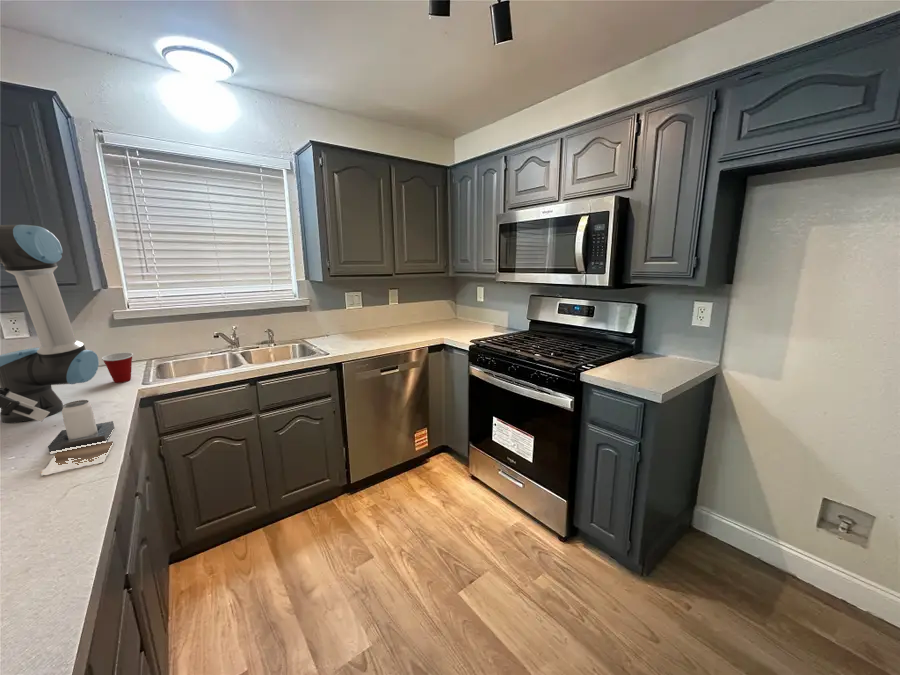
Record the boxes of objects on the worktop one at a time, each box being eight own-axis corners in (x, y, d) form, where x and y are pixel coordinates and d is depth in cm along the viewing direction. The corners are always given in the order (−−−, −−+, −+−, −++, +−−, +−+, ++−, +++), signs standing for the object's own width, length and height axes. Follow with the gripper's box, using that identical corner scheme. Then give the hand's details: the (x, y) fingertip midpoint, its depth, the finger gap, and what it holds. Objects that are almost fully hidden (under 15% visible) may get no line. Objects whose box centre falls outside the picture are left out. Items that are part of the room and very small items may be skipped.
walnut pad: (57, 455, 106) (56, 452, 105) (113, 444, 112) (112, 441, 112) (41, 476, 96) (40, 472, 96) (103, 462, 102) (103, 459, 102)
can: (95, 433, 119) (87, 397, 116) (101, 439, 115) (93, 402, 113) (67, 441, 114) (58, 404, 111) (72, 447, 110) (62, 409, 107)
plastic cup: (107, 386, 162) (101, 359, 159) (105, 381, 170) (100, 355, 167) (139, 380, 170) (134, 355, 167) (136, 375, 177) (131, 350, 174)
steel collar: (63, 437, 116) (61, 430, 116) (114, 428, 122) (112, 421, 122) (50, 454, 106) (47, 446, 106) (106, 443, 113) (104, 435, 112)
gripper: (-86, 378, 95) (17, 413, 110) (-78, 397, 81) (38, 434, 97) (-57, 353, 98) (39, 391, 114) (-45, 368, 85) (62, 408, 100)
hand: (39, 411), depth 105 cm, fingers open, 13 cm apart
